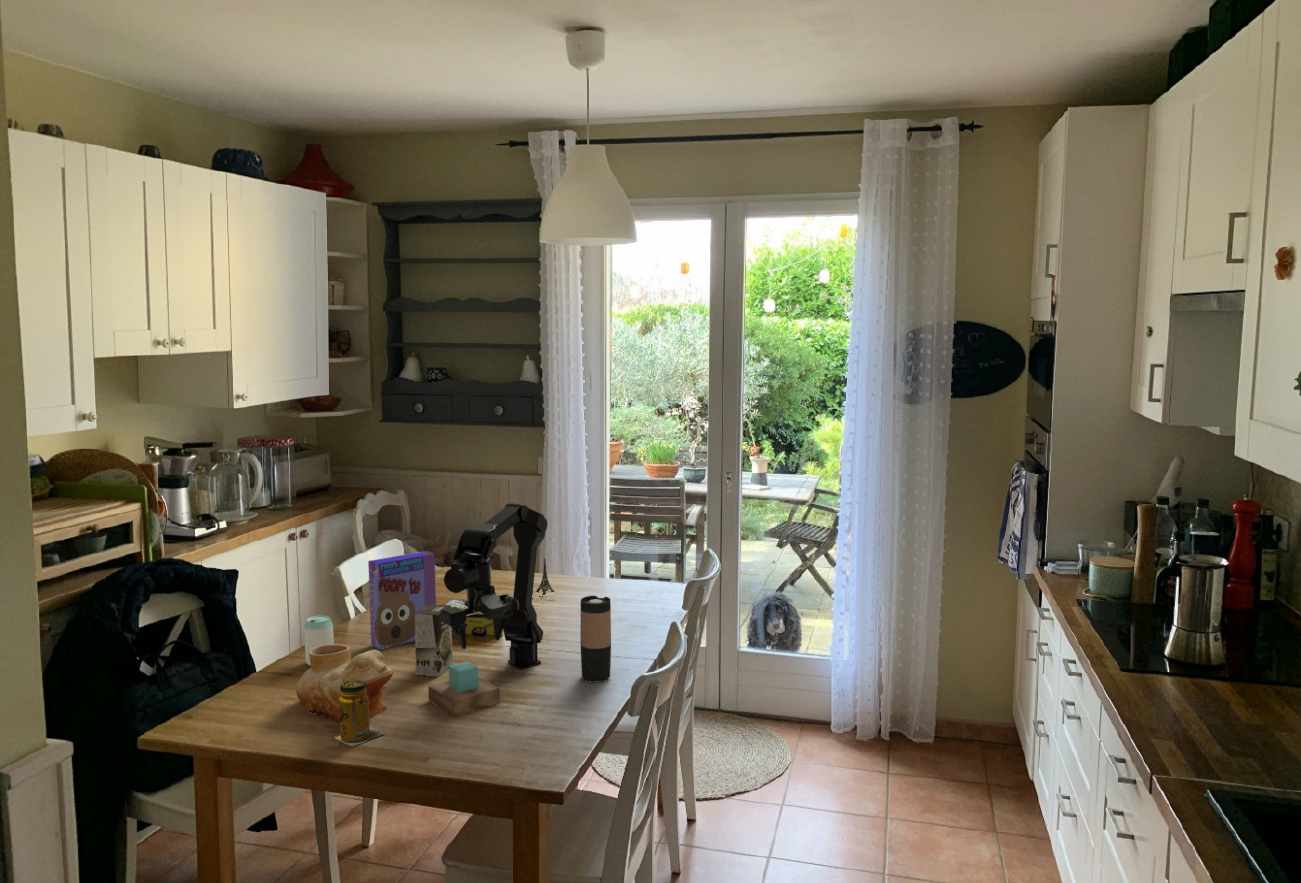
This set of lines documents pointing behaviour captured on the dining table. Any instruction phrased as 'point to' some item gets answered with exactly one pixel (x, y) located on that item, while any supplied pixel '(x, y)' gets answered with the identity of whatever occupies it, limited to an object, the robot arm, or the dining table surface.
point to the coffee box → (432, 641)
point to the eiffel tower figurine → (546, 584)
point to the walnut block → (463, 697)
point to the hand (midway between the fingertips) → (480, 644)
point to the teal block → (463, 676)
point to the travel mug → (595, 638)
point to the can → (317, 633)
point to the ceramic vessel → (341, 679)
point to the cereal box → (399, 596)
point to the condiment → (355, 714)
